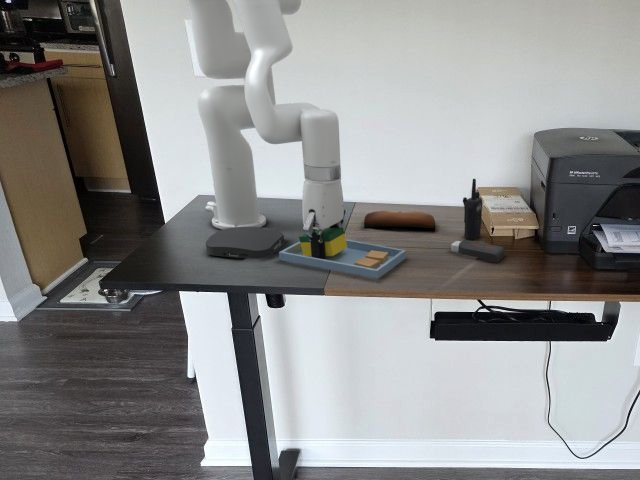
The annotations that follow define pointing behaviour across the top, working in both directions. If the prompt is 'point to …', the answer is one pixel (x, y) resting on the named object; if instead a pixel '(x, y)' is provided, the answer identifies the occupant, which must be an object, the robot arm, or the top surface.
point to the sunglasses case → (399, 219)
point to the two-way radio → (472, 214)
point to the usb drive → (479, 250)
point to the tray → (347, 258)
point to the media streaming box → (245, 242)
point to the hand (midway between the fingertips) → (327, 253)
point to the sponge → (326, 241)
